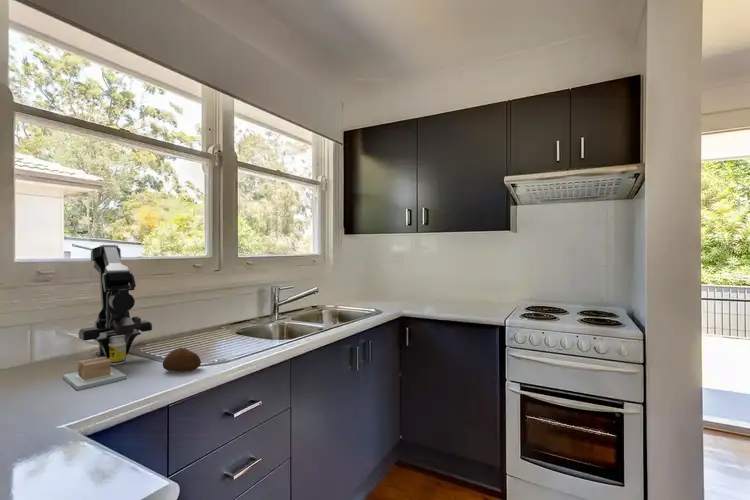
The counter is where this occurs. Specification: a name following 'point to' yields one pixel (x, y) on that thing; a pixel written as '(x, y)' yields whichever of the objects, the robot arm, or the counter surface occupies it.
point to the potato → (181, 360)
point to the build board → (93, 379)
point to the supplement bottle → (117, 350)
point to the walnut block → (94, 368)
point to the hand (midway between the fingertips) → (117, 356)
